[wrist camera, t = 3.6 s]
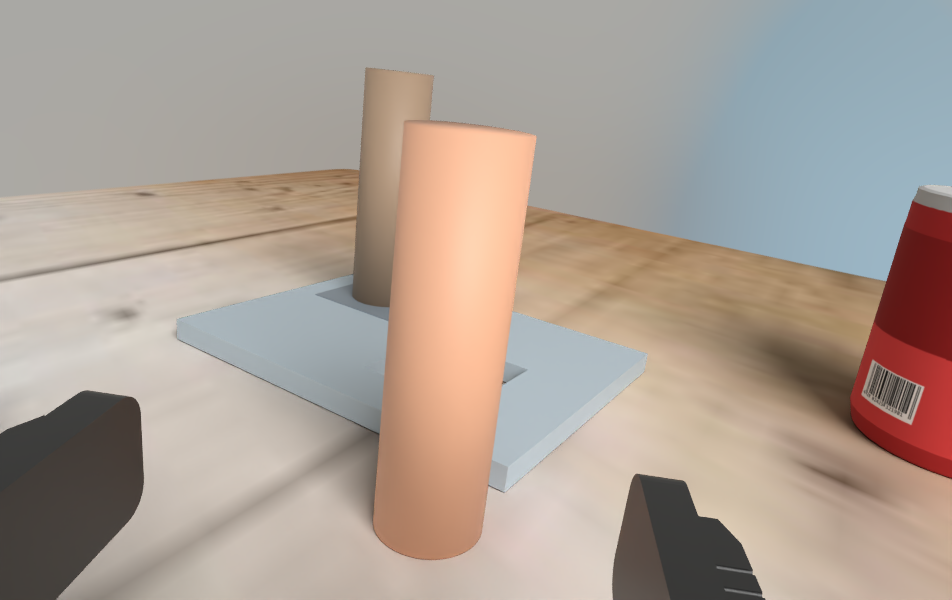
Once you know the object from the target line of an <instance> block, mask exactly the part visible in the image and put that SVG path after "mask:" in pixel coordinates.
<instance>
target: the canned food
mask: <svg viewBox="0 0 952 600" xmlns="http://www.w3.org/2000/svg"><path fill="white" fill-rule="evenodd" d="M850 407H851V417H852V420H853V422H854V423H855V425H856V426H857V427H858V429H859V430H860V431H861V432H862V433H863V434H864V435H866V436H867V437H868V438H869V439H870V440H872V441H873V442H875V443H876V444H877V445H879V446H880V447H882V448H884V449H885V450H887V451H889V452H890V453H892V454H894V455H896V456H898V457H900V458H902V459H904V460H906V461H908V462H910V463H912V464H914V465H917V466H919V467H922V468H924V469H926V470H929V471H931V472H934V473H937V474H940V475H943V476H946V477H949V478H952V186H951V187H950V186H940V185H924V186H920V187H919V188H918V191H917V194H916V196H915V197H914V199H913V201H912V204H911V207H910V210H909V213H908V217H907V219H906V222H905V224H904V227H903V231H902V234H901V237H900V240H899V243H898V246H897V249H896V253H895V256H894V260H893V262H892V265H891V269H890V272H889V275H888V278H887V281H886V285H885V288H884V291H883V294H882V297H881V301H880V304H879V307H878V310H877V313H876V317H875V320H874V323H873V326H872V329H871V333H870V336H869V339H868V342H867V345H866V349H865V352H864V355H863V358H862V361H861V365H860V368H859V371H858V374H857V377H856V380H855V384H854V387H853V390H852V393H851V396H850Z"/></svg>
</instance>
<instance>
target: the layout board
mask: <svg viewBox="0 0 952 600" xmlns="http://www.w3.org/2000/svg"><path fill="white" fill-rule="evenodd" d="M433 78H434V76H433V75H426V74H419V73H409V72H402V71H394V70H385V69H376V68H366V71H365V89H364V104H363V121H362V138H361V155H360V172H359V189H358V206H357V223H356V240H355V257H354V274H352V275H348V276H344V277H340V278H336V279H332V280H328V281H324V282H320V283H316V284H312V285H308V286H305V287H301V288H297V289H293V290H289V291H285V292H281V293H277V294H273V295H269V296H265V297H261V298H257V299H254V300H250V301H246V302H242V303H238V304H234V305H230V306H226V307H222V308H218V309H214V310H210V311H206V312H203V313H199V314H195V315H191V316H187V317H183V318H179V319H177V339H179V340H181V341H183V342H185V343H187V344H189V345H191V346H193V347H196V348H198V349H200V350H202V351H204V352H206V353H208V354H210V355H213V356H215V357H217V358H219V359H221V360H223V361H225V362H228V363H230V364H232V365H234V366H236V367H238V368H240V369H242V370H245V371H247V372H249V373H251V374H253V375H255V376H257V377H259V378H262V379H264V380H266V381H268V382H270V383H272V384H274V385H276V386H279V387H281V388H283V389H285V390H287V391H289V392H291V393H294V394H296V395H298V396H300V397H302V398H304V399H306V400H308V401H311V402H313V403H315V404H317V405H319V406H321V407H323V408H325V409H328V410H330V411H332V412H334V413H336V414H338V415H340V416H343V417H345V418H347V419H349V420H351V421H353V422H355V423H357V424H360V425H362V426H364V427H366V428H368V429H370V430H372V431H374V432H377V433H379V434H380V424H381V412H382V399H383V386H384V373H385V360H386V347H387V334H388V321H389V309H390V296H391V283H392V270H393V257H394V244H395V231H396V218H397V205H398V193H399V180H400V167H401V154H402V141H403V128H404V121H406V120H430V112H431V100H432V90H433ZM647 355H648V354H647V353H644V352H640V351H637V350H634V349H631V348H628V347H625V346H621V345H618V344H615V343H612V342H609V341H605V340H602V339H599V338H596V337H593V336H590V335H586V334H583V333H580V332H577V331H574V330H571V329H567V328H564V327H561V326H558V325H555V324H551V323H548V322H545V321H542V320H539V319H536V318H532V317H529V316H526V315H523V314H520V313H517V312H513V311H512V318H511V325H510V332H509V339H508V347H507V354H506V361H505V368H504V375H503V381H504V382H506V384H504V385H502V390H501V397H500V404H499V412H498V419H497V426H496V433H495V440H494V448H493V455H492V462H491V469H490V477H489V484H488V485H489V486H492V487H494V488H496V489H498V490H500V491H502V492H506V491H507V490H508V489H509V488H510V487H511V486H512V485H514V484H515V483H516V482H517V481H518V480H519V479H521V478H522V477H523V476H524V475H525V474H526V473H528V472H529V471H530V470H531V469H532V468H533V467H534V466H536V465H537V464H538V463H539V462H540V461H541V460H543V459H544V458H545V457H546V456H547V455H548V454H550V453H551V452H552V451H553V450H554V449H555V448H556V447H558V446H559V445H560V444H561V443H562V442H563V441H565V440H566V439H567V438H568V437H569V436H570V435H572V434H573V433H574V432H575V431H576V430H577V429H578V428H580V427H581V426H582V425H583V424H584V423H585V422H587V421H588V420H589V419H590V418H591V417H592V416H594V415H595V414H596V413H597V412H598V411H599V410H600V409H602V408H603V407H604V406H605V405H606V404H607V403H609V402H610V401H611V400H612V399H613V398H614V397H616V396H617V395H618V394H619V393H620V392H621V391H622V390H624V389H625V388H626V387H627V386H628V385H629V384H631V383H632V382H633V381H634V380H635V379H636V378H638V377H639V376H640V375H641V374H642V373H643V372H644V370H645V365H646V360H647Z"/></svg>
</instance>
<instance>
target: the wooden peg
mask: <svg viewBox="0 0 952 600" xmlns="http://www.w3.org/2000/svg"><path fill="white" fill-rule="evenodd" d="M535 144H536V136H535V135H532V134H529V133H524V132H520V131H515V130H509V129H503V128H496V127H490V126H483V125H475V124H466V123H456V122H446V121H432V120H406V121H404V128H403V141H402V154H401V167H400V180H399V193H398V205H397V218H396V231H395V244H394V257H393V270H392V283H391V296H390V309H389V321H388V334H387V347H386V360H385V373H384V386H383V399H382V412H381V424H380V437H379V450H378V463H377V476H376V489H375V502H374V515H373V526H374V530H375V532H376V534H377V536H378V537H379V539H380V540H381V541H382V542H383V543H384V544H385V545H387V546H388V547H389V548H391V549H392V550H394V551H396V552H398V553H400V554H403V555H406V556H409V557H413V558H418V559H427V560H437V559H446V558H451V557H454V556H458V555H460V554H462V553H464V552H466V551H468V550H469V549H471V548H472V547H473V546H474V545H475V544H476V543H477V542H478V540H479V538H480V536H481V533H482V527H483V520H484V513H485V505H486V498H487V491H488V484H489V477H490V469H491V462H492V455H493V448H494V440H495V433H496V426H497V419H498V412H499V404H500V397H501V390H502V383H503V375H504V368H505V361H506V354H507V347H508V339H509V332H510V325H511V318H512V310H513V303H514V296H515V289H516V282H517V274H518V267H519V260H520V253H521V245H522V238H523V231H524V224H525V217H526V209H527V202H528V195H529V188H530V180H531V173H532V166H533V159H534V151H535Z"/></svg>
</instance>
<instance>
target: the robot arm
mask: <svg viewBox="0 0 952 600" xmlns="http://www.w3.org/2000/svg"><path fill="white" fill-rule="evenodd" d="M143 485H144V473H143V452H142V431H141V412H140V407H139V404H138V402H137V401H136V399H134V398H133V397H128V396H121V395H115V394H108V393H101V392H95V391H82V392H80V393H78V394H77V395H75V396H74V397H72V398H71V399H69V400H68V401H66V402H65V403H63V404H62V405H60V406H59V407H57V408H56V409H55V410H53V411H52V412H50V413H49V414H47V415H46V416H41V417H39V418H36V419H33V420H31V421H28V422H25V423H23V424H20V425H18V426H15V427H12V428H10V429H7V430H6V431H4V432H2V433H1V434H0V600H56V598H57V597H58V596H59V595H60V594H61V593H62V592H63V591H64V590H65V589H66V588H67V587H68V586H69V585H70V583H71V582H72V581H73V580H74V579H75V578H76V577H77V576H78V575H79V574H80V573H81V572H82V571H83V570H84V568H85V567H86V566H87V565H88V564H89V563H90V562H91V561H92V560H93V559H94V558H95V557H96V556H97V555H98V553H99V552H100V551H101V550H102V549H103V548H104V547H105V546H106V545H107V544H108V543H109V542H110V541H111V540H112V538H113V537H114V536H115V535H116V534H117V533H118V532H119V531H120V530H121V529H122V528H123V527H124V526H125V524H126V523H127V522H128V521H129V520H130V519H131V517H132V516H133V514H134V513H135V511H136V509H137V507H138V505H139V502H140V499H141V496H142V491H143ZM752 571H753V570H752V567H751V565H750V563H749V560H748V558H747V556H746V554H745V551H744V549H743V547H742V544H741V543H740V542H739V541H738V540H737V539H736V538H735V537H734V536H733V535H732V534H731V533H730V531H729V530H728V529H727V528H726V527H725V526H724V525H723V524H722V523H721V522H720V521H719V520H718V519H713V518H707V517H700V516H698V514H697V512H696V509H695V506H694V503H693V501H692V498H691V495H690V492H689V489H688V487H687V484H686V483H685V482H684V481H682V480H675V479H668V478H662V477H655V476H648V475H642V474H635V475H634V477H633V479H632V482H631V485H630V490H629V494H628V499H627V503H626V508H625V512H624V517H623V522H622V526H621V531H620V535H619V540H618V545H617V549H616V554H615V559H614V567H613V581H612V592H613V600H765V598H762V591H761V588H760V586H759V584H758V581H757V579H756V577H755V575H753V574H752Z"/></svg>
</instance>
